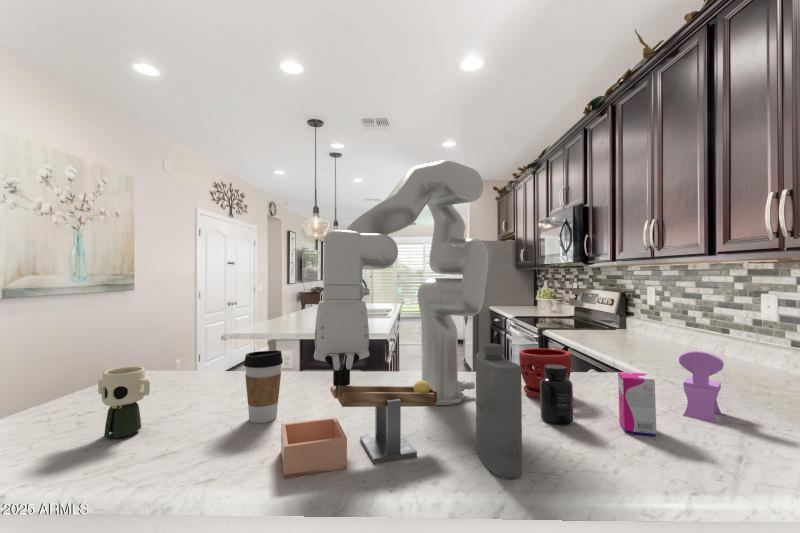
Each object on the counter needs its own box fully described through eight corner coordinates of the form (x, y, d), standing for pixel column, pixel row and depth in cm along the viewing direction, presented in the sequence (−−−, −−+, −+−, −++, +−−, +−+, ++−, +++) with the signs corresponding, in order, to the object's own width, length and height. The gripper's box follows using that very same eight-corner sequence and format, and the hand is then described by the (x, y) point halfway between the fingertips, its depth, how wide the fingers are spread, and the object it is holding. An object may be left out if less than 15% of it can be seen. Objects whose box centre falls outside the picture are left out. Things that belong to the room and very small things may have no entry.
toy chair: (726, 413, 92) (725, 349, 92) (723, 424, 85) (722, 355, 86) (683, 405, 98) (682, 345, 98) (677, 414, 91) (676, 350, 91)
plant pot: (574, 393, 108) (574, 349, 108) (566, 406, 97) (565, 357, 97) (526, 386, 115) (526, 345, 115) (513, 397, 104) (513, 352, 104)
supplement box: (648, 426, 84) (648, 372, 84) (657, 437, 78) (656, 379, 79) (618, 423, 86) (617, 370, 86) (624, 433, 80) (623, 377, 80)
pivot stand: (398, 435, 79) (398, 385, 80) (416, 456, 70) (416, 400, 70) (360, 440, 77) (360, 389, 77) (373, 463, 67) (373, 405, 68)
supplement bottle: (573, 417, 89) (573, 364, 89) (573, 428, 83) (572, 371, 83) (541, 413, 92) (541, 362, 92) (538, 423, 86) (538, 368, 86)
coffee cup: (270, 426, 84) (270, 356, 84) (235, 423, 86) (235, 354, 86) (289, 413, 92) (289, 349, 92) (256, 410, 94) (257, 347, 94)
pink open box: (336, 443, 75) (336, 417, 75) (346, 468, 66) (346, 438, 66) (280, 451, 72) (281, 424, 72) (283, 478, 62) (283, 446, 62)
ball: (421, 397, 78) (428, 382, 78) (427, 402, 75) (435, 387, 75) (408, 390, 77) (415, 375, 77) (414, 395, 74) (422, 379, 74)
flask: (470, 440, 77) (469, 338, 77) (499, 440, 77) (499, 338, 78) (489, 480, 62) (489, 353, 62) (526, 479, 62) (525, 353, 63)
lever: (416, 392, 84) (417, 378, 84) (435, 407, 74) (437, 391, 74) (330, 391, 78) (331, 376, 78) (339, 408, 68) (341, 390, 68)
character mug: (82, 440, 77) (84, 374, 77) (112, 426, 84) (113, 365, 84) (135, 442, 76) (136, 375, 76) (160, 428, 83) (161, 366, 83)
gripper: (374, 293, 82) (373, 381, 82) (301, 293, 78) (300, 387, 77) (385, 295, 75) (383, 391, 75) (305, 295, 70) (303, 398, 70)
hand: (341, 389), depth 76 cm, fingers closed
